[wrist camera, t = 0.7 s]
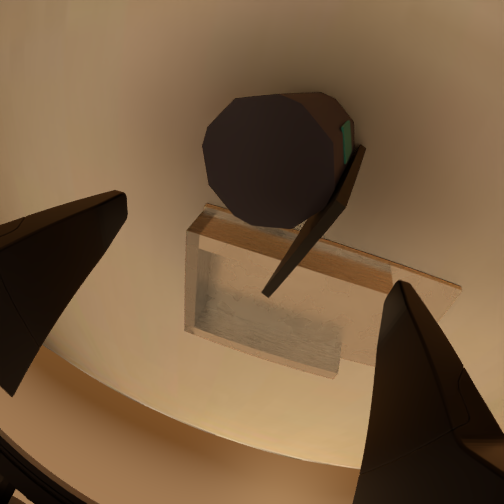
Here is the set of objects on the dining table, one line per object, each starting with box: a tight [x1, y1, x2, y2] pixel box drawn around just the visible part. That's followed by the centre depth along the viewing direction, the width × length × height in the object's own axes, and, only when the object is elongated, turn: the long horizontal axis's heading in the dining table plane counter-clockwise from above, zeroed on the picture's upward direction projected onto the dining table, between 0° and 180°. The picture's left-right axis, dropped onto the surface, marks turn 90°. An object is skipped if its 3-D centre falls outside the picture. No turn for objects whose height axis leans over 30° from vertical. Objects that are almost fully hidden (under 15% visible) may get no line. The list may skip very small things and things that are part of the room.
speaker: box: [202, 92, 366, 298], centre depth 14 cm, size 8×6×10 cm
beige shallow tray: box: [185, 204, 462, 379], centre depth 25 cm, size 22×13×4 cm, turn 80°
